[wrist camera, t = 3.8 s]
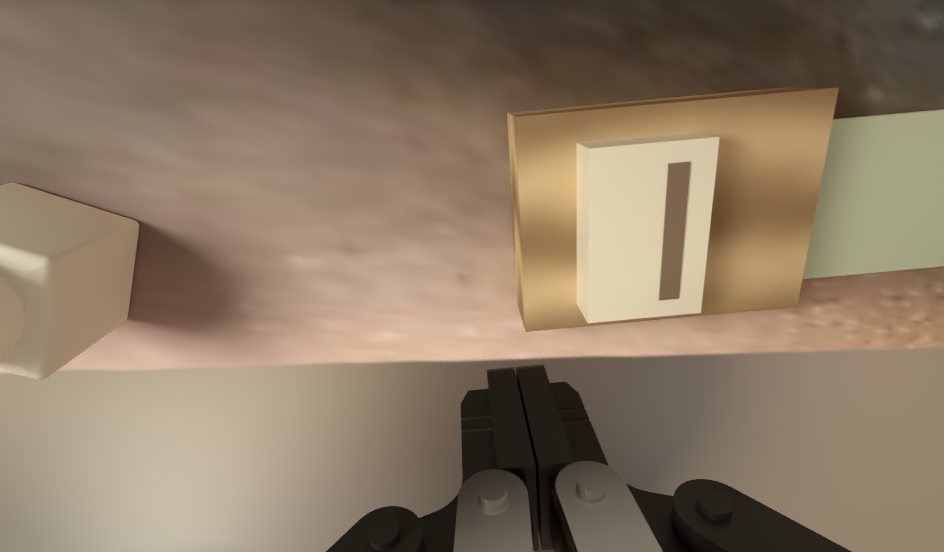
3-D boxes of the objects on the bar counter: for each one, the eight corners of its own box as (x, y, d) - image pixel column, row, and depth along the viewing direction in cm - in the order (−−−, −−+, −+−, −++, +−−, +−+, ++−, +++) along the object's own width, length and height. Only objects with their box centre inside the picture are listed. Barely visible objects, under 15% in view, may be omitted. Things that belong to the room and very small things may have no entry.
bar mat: (797, 122, 28) (802, 122, 28) (1000, 104, 28) (1007, 104, 28) (771, 279, 32) (775, 281, 31) (950, 262, 32) (956, 265, 31)
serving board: (507, 112, 27) (515, 116, 23) (786, 87, 27) (838, 87, 24) (517, 302, 32) (525, 331, 28) (756, 280, 32) (797, 306, 28)
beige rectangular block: (576, 142, 24) (589, 148, 22) (695, 132, 24) (720, 136, 22) (576, 303, 27) (588, 324, 25) (680, 294, 27) (701, 313, 25)
